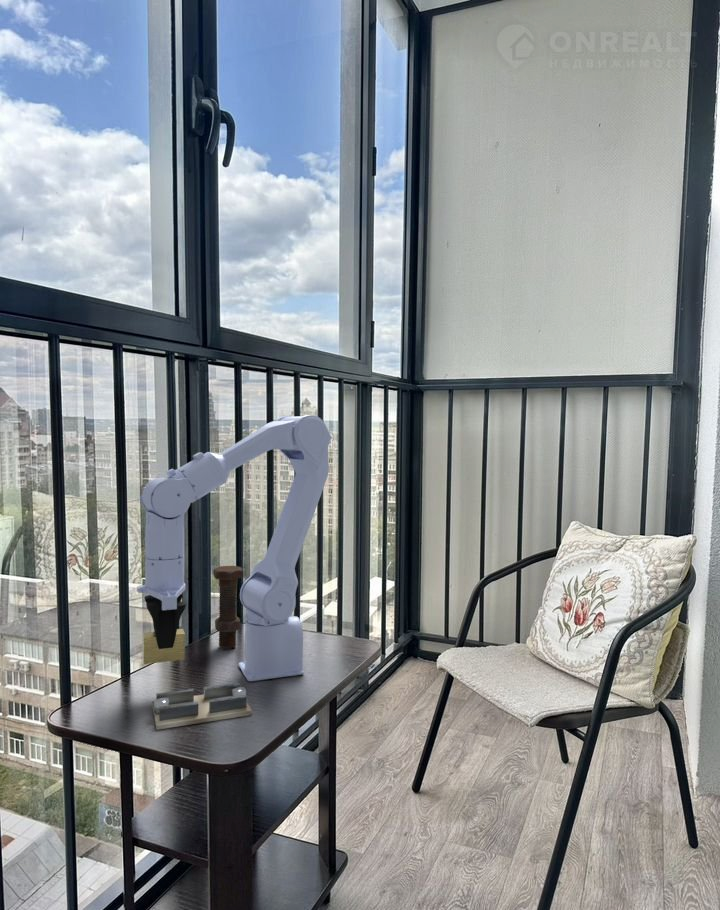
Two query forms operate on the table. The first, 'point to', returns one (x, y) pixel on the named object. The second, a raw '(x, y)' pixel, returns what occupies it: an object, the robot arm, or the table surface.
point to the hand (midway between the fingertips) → (164, 644)
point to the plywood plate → (201, 714)
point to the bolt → (227, 605)
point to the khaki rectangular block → (162, 655)
